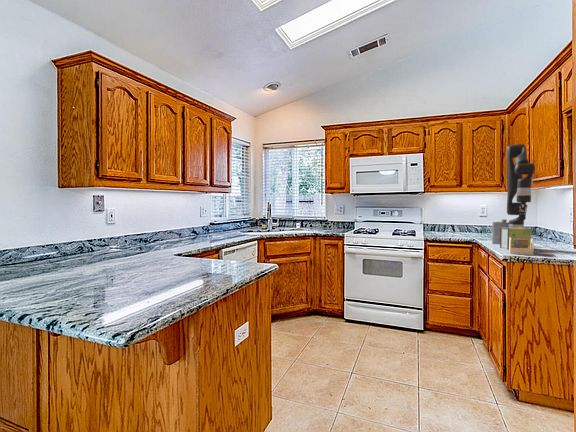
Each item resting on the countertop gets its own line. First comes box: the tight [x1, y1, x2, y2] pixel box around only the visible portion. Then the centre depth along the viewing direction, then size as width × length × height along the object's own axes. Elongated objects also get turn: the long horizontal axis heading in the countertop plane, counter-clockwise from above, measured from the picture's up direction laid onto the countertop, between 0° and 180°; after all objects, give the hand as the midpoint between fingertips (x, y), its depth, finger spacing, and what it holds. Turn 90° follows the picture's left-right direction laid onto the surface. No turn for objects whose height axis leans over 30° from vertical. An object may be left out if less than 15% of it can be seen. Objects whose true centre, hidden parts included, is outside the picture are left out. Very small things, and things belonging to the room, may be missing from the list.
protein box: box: [499, 227, 532, 251], centre depth 233 cm, size 10×15×16 cm
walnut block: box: [514, 239, 528, 249], centre depth 215 cm, size 5×7×9 cm
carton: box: [508, 237, 534, 256], centre depth 215 cm, size 13×12×10 cm
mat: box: [535, 252, 556, 257], centre depth 208 cm, size 10×9×1 cm
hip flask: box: [491, 218, 509, 245], centre depth 261 cm, size 16×4×20 cm, turn 49°
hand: (523, 219), depth 213 cm, fingers open, 8 cm apart
